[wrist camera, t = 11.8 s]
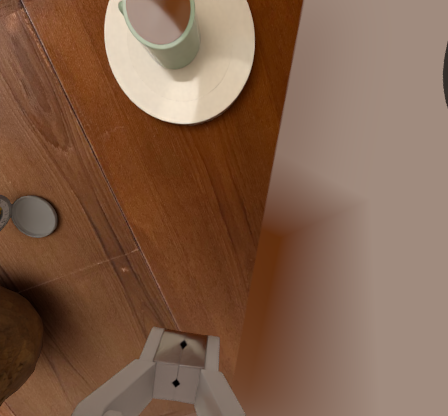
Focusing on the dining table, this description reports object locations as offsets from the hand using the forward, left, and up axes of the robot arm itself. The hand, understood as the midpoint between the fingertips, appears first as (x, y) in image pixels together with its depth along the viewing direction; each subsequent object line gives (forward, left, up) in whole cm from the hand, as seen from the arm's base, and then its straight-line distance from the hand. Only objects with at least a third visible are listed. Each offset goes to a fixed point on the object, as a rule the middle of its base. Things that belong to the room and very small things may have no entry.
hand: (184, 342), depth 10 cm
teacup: (+8, -20, -23) cm, 32 cm away
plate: (+7, -19, -26) cm, 33 cm away
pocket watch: (+28, +6, -26) cm, 38 cm away
